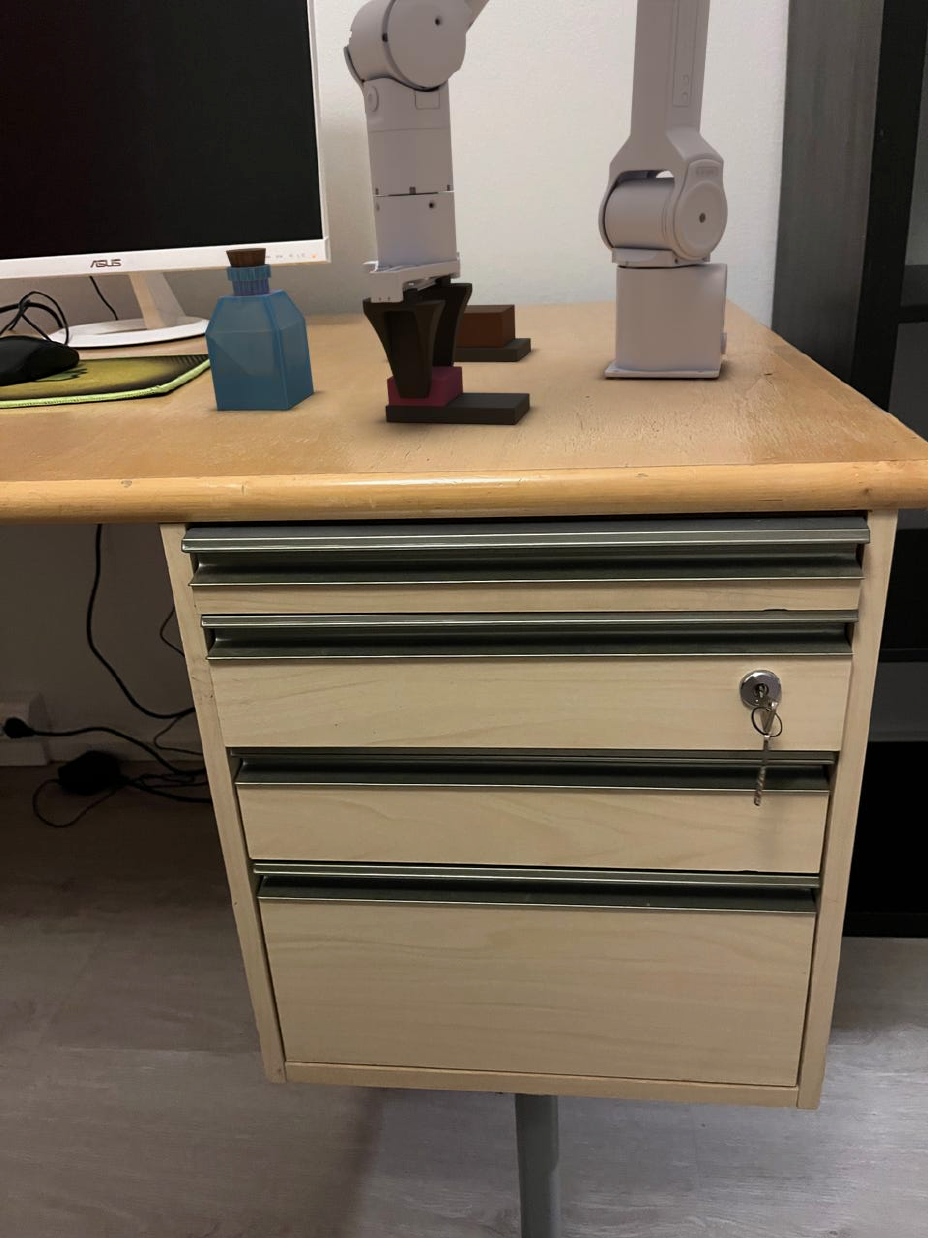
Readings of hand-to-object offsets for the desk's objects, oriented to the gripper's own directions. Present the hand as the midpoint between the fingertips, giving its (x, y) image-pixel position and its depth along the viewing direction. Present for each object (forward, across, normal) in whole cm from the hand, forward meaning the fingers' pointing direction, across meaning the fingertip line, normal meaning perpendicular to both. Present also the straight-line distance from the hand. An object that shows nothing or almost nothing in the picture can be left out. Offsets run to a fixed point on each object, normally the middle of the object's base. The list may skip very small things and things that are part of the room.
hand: (426, 389), depth 73 cm
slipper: (+2, 0, +2) cm, 3 cm away
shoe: (+2, -24, -4) cm, 25 cm away
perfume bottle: (+2, -4, -16) cm, 16 cm away
